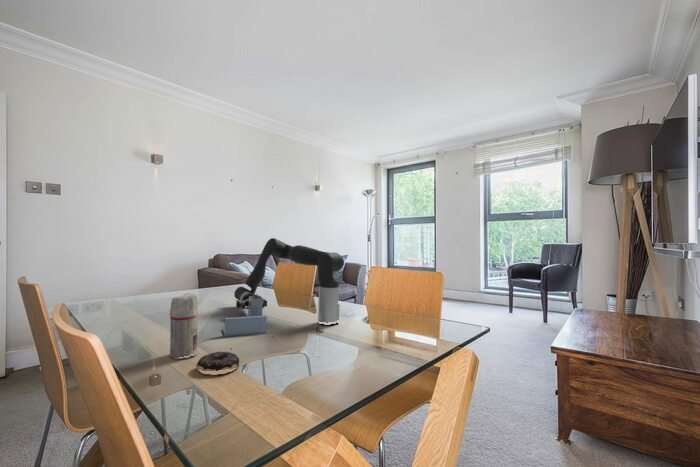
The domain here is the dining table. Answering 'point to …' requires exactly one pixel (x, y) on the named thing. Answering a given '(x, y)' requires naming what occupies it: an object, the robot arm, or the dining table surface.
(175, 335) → the spray can
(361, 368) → the dining table surface
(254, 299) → the block
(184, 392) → the dining table surface
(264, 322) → the bracket
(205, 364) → the donut
